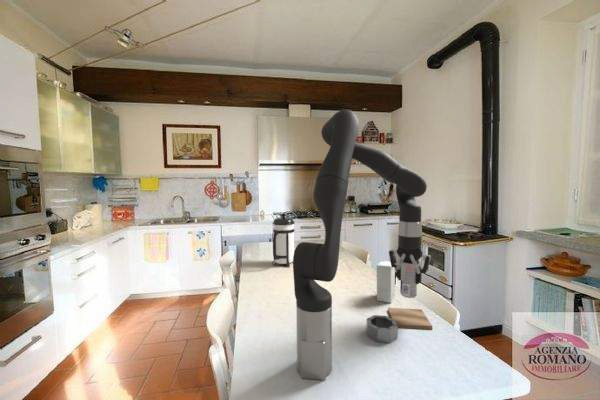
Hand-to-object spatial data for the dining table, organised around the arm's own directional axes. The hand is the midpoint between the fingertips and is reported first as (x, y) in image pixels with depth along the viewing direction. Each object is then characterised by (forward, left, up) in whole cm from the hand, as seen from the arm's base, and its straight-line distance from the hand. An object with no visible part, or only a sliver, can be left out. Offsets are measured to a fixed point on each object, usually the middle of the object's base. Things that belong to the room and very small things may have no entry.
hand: (408, 281), depth 97 cm
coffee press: (+58, +56, -14) cm, 82 cm away
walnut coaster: (0, 0, -14) cm, 14 cm away
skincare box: (+17, +5, -14) cm, 22 cm away
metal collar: (-11, +11, -14) cm, 21 cm away
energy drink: (0, 0, -5) cm, 5 cm away
